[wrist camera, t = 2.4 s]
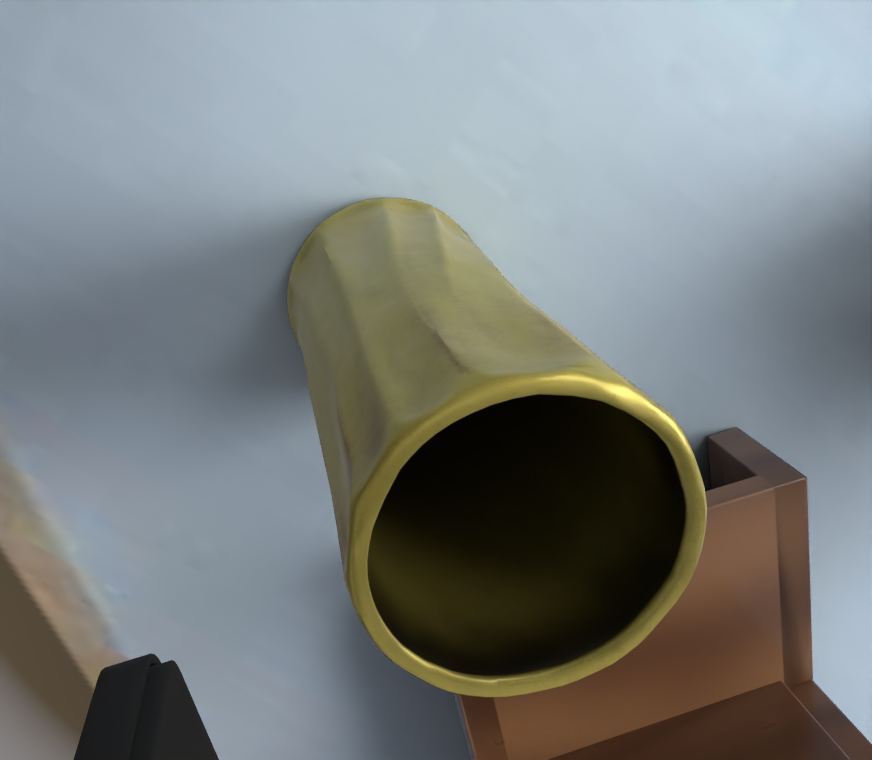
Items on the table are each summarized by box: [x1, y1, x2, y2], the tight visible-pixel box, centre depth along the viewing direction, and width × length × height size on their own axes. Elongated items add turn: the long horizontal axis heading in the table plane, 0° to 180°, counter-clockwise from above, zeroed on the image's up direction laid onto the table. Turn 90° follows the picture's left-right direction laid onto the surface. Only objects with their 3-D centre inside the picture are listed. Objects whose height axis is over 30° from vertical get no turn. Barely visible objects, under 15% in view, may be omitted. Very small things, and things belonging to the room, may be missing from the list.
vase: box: [287, 198, 707, 697], centre depth 17 cm, size 6×6×14 cm
